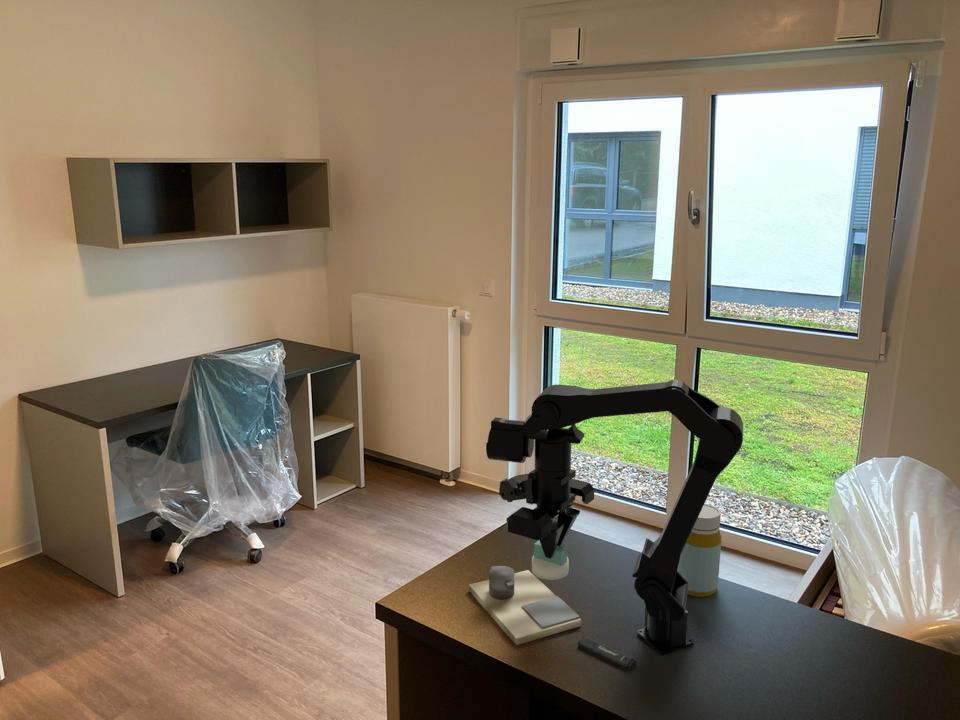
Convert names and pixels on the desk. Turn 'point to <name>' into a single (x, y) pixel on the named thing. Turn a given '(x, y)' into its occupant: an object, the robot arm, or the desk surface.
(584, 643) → the usb stick
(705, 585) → the bottle
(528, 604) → the board
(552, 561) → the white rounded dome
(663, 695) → the desk surface
